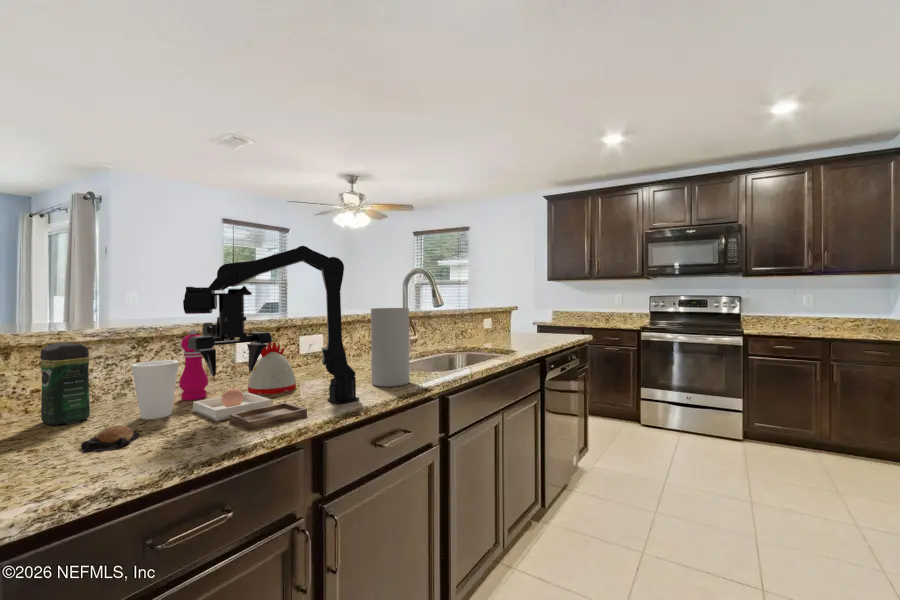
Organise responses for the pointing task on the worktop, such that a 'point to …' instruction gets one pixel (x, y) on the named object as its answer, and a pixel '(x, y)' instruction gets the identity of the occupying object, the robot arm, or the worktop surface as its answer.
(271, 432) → the worktop surface
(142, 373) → the foam cup
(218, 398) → the dish
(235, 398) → the ball
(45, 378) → the coffee jar
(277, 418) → the tray
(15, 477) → the worktop surface
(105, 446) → the turtle figurine
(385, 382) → the cylinder vase
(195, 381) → the pepper mill
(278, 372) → the grey and red dome
